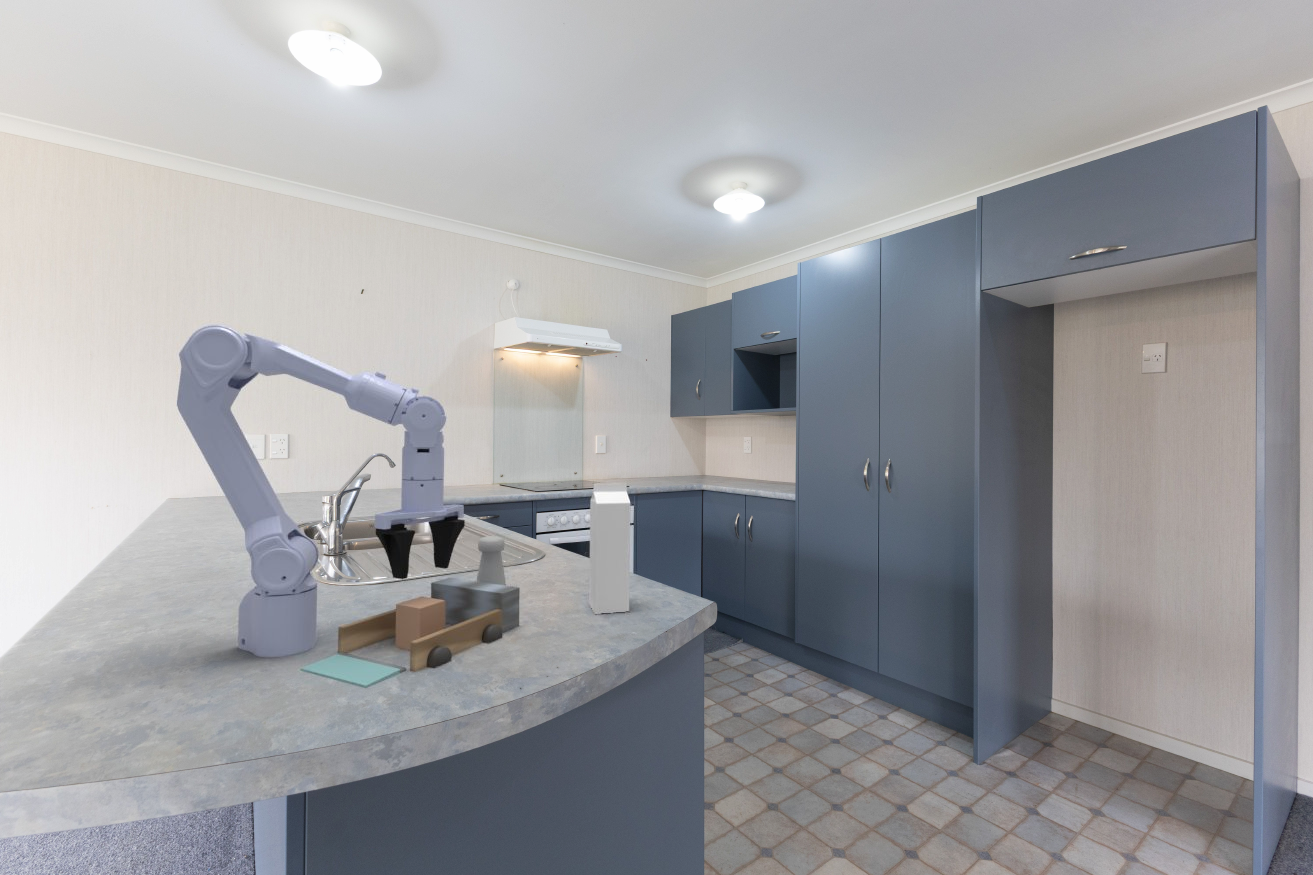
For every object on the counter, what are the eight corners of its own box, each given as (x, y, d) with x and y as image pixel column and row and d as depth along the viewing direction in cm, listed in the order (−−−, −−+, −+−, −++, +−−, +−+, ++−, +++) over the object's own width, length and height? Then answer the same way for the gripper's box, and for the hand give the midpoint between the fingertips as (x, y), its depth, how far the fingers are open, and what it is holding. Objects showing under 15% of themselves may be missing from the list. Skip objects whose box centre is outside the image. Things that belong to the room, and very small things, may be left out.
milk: (629, 612, 102) (631, 484, 102) (594, 615, 100) (596, 484, 100) (621, 602, 108) (623, 481, 107) (588, 605, 106) (590, 481, 106)
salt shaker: (498, 620, 96) (499, 540, 96) (465, 618, 97) (466, 538, 97) (513, 610, 102) (514, 535, 102) (483, 608, 103) (484, 533, 103)
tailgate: (342, 658, 78) (300, 675, 72) (342, 650, 78) (300, 667, 72) (406, 673, 73) (366, 693, 68) (406, 665, 73) (366, 684, 68)
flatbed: (331, 658, 79) (332, 607, 79) (443, 618, 97) (444, 576, 97) (423, 680, 72) (423, 624, 72) (525, 633, 90) (525, 588, 90)
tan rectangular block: (395, 648, 81) (396, 604, 81) (421, 638, 85) (422, 596, 85) (419, 653, 79) (420, 608, 79) (444, 643, 83) (445, 600, 83)
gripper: (401, 483, 78) (399, 586, 78) (479, 477, 91) (478, 566, 91) (364, 481, 81) (363, 580, 81) (445, 475, 94) (443, 561, 94)
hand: (421, 572), depth 86 cm, fingers open, 7 cm apart
